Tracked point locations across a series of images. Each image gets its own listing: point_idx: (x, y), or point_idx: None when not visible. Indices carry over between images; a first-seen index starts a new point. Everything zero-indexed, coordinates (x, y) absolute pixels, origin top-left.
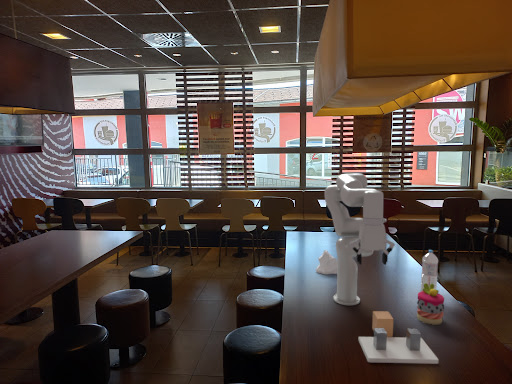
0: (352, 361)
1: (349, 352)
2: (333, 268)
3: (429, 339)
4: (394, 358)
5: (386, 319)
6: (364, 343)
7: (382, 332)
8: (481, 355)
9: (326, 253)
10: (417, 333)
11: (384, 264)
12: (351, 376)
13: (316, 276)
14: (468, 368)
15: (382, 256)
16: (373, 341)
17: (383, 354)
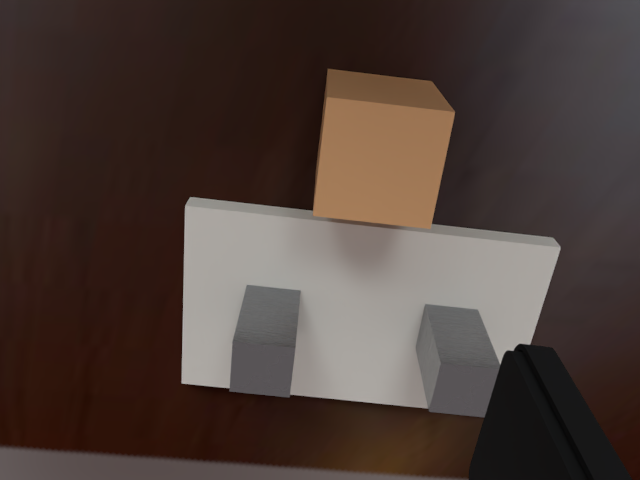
0: (113, 359)
1: (113, 297)
2: None
3: (617, 221)
4: (305, 395)
5: (379, 220)
6: (199, 273)
7: (266, 388)
8: None
9: None
10: (470, 413)
11: (481, 456)
12: (89, 439)
13: None
14: (608, 436)
15: (552, 468)
16: (244, 294)
17: None
